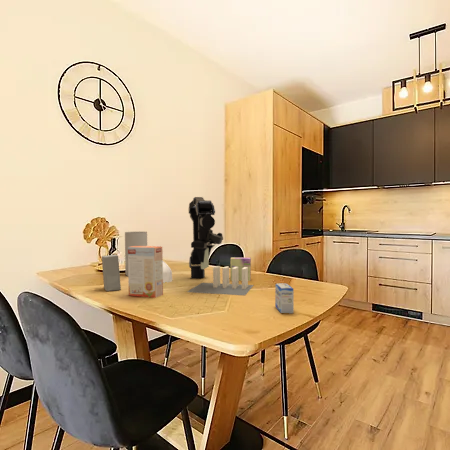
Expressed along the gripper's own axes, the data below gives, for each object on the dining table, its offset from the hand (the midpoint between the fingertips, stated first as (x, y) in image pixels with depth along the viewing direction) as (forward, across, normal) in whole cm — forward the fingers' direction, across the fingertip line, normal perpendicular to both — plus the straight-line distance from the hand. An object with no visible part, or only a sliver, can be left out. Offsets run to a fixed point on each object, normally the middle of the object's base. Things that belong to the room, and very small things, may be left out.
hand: (204, 261), depth 141 cm
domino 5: (+12, +3, -18) cm, 22 cm away
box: (+13, +21, -12) cm, 28 cm away
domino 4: (+12, +3, -14) cm, 18 cm away
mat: (+12, -1, -8) cm, 15 cm away
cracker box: (+13, -19, +19) cm, 30 cm away
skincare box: (+13, -13, +42) cm, 45 cm away
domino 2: (+12, +3, -5) cm, 13 cm away
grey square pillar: (+14, +23, +51) cm, 58 cm away
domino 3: (+12, +3, -9) cm, 15 cm away
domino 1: (+3, 0, 0) cm, 3 cm away
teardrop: (+13, +11, +28) cm, 33 cm away
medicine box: (+12, -26, -39) cm, 48 cm away
